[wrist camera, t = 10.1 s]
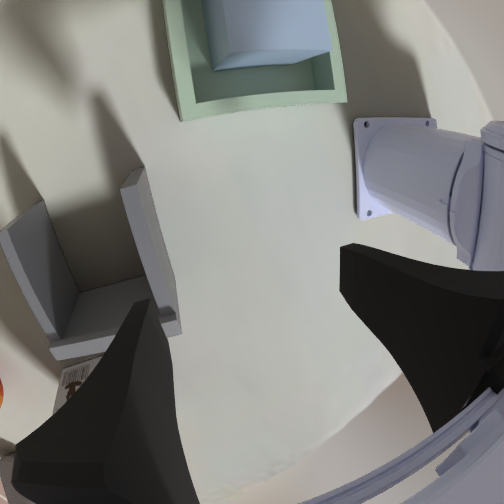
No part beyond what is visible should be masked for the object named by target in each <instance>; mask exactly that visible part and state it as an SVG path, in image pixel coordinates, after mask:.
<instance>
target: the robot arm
mask: <svg viewBox="0 0 504 504" xmlns="http://www.w3.org/2000/svg"><path fill="white" fill-rule="evenodd" d="M365 122H366V127H365V126H364V123H365ZM353 127H354V141H355V158H356V183H357V217H358V218H359V219H361V220H367V219H371V218H374V217H378V216H382V215H386V214H390V213H396V214H398V215H400V216H402V217H404V218H406V219H408V220H410V221H412V222H414V223H416V224H417V225H419V226H421V227H423V228H425V229H427V230H429V231H430V232H432V233H434V234H436V235H438V236H439V237H441V238H443V239H445V240H446V241H448V242H450V243H452V244H453V245H455V246H457V259H459V260H460V261H462V262H463V263H465V264H466V265H468V266H469V269H468V270H465V269H456V268H449V267H444V266H438V265H433V264H429V263H425V262H421V261H417V260H413V259H410V258H406V257H402V256H399V255H396V254H392V253H389V252H386V251H382V250H379V249H376V248H372V247H369V246H365V245H361V244H355V243H352V244H349V245H345V246H342V247H340V292H341V294H342V295H343V297H344V298H345V300H346V302H347V303H348V304H349V306H350V307H351V309H352V310H353V311H354V312H355V313H356V315H357V316H358V317H359V318H360V319H361V320H362V321H363V322H364V324H365V325H366V326H367V327H368V328H369V329H370V330H371V331H372V332H373V334H374V335H375V336H376V337H377V338H378V339H379V340H380V341H381V343H382V344H383V345H384V346H385V347H386V348H387V350H388V351H389V352H390V354H391V355H392V356H393V358H394V359H395V361H396V362H397V364H398V365H399V367H400V368H401V370H402V371H403V373H404V375H405V376H406V378H407V380H408V381H409V383H410V385H411V386H412V388H413V390H414V392H415V394H416V395H417V398H418V399H419V401H420V403H421V405H422V407H423V410H424V412H425V414H426V416H427V418H428V421H429V423H430V426H431V428H432V431H433V434H432V435H430V436H429V437H427V438H426V439H425V440H423V441H422V442H420V443H419V444H417V445H416V446H414V447H413V448H411V449H409V450H408V451H406V452H405V453H403V454H401V455H400V456H398V457H397V458H395V459H393V460H392V461H390V462H388V463H386V464H385V465H383V466H381V467H379V468H377V469H376V470H374V471H372V472H370V473H368V474H366V475H364V476H362V477H361V478H358V479H356V480H354V481H352V482H350V483H348V484H346V485H343V486H341V487H339V488H337V489H334V490H332V491H330V492H327V493H325V494H323V495H320V496H318V497H315V498H313V499H310V500H307V501H305V502H302V503H299V504H361V503H363V502H365V501H367V500H369V499H371V498H373V497H375V496H377V495H378V494H380V493H382V492H384V491H386V490H387V489H389V488H391V487H393V486H394V485H396V484H398V483H399V482H401V481H402V480H404V479H406V478H407V477H409V476H410V475H412V474H413V473H415V472H416V471H418V470H419V469H421V468H422V467H424V466H425V465H427V464H428V463H429V462H431V461H432V460H434V459H435V458H436V457H438V456H439V455H440V454H442V453H443V452H444V451H446V450H447V449H448V448H450V447H451V446H452V445H453V444H455V443H456V442H457V441H458V440H459V439H461V438H462V437H463V436H464V435H465V434H466V433H468V432H469V431H470V430H471V431H470V434H469V435H468V436H467V437H466V438H465V439H464V440H463V441H462V442H461V443H460V444H459V445H458V446H457V447H456V449H455V450H454V451H453V452H452V453H451V454H450V455H449V456H448V457H447V458H446V459H445V460H444V461H443V462H442V463H441V464H440V465H439V466H437V467H436V470H435V471H436V472H437V473H438V475H439V476H440V477H439V478H437V479H436V480H435V481H433V482H432V483H431V484H429V485H428V486H426V487H425V488H423V489H422V490H421V491H419V492H418V493H416V494H415V495H413V496H412V497H410V498H409V499H407V500H405V501H404V502H402V503H401V504H504V121H490V122H489V123H488V124H487V125H486V126H485V127H483V128H482V129H481V131H480V132H481V138H480V137H476V136H471V135H467V134H462V133H458V132H453V131H448V130H442V129H437V121H436V120H435V119H434V118H414V117H373V118H356V119H355V120H354V123H353ZM368 211H369V213H368V214H367V212H368ZM11 484H12V486H13V487H14V489H15V490H16V491H17V492H18V493H19V494H21V495H22V496H24V497H25V498H27V499H28V500H30V501H32V502H34V503H35V504H200V503H199V500H198V498H197V495H196V492H195V489H194V486H193V483H192V480H191V476H190V473H189V470H188V466H187V463H186V459H185V455H184V452H183V448H182V444H181V439H180V435H179V430H178V425H177V418H176V408H175V396H174V382H173V367H172V360H171V354H170V349H169V343H168V340H167V337H166V335H165V333H164V330H163V328H162V326H161V323H160V321H159V318H158V316H157V313H156V311H155V308H154V306H153V303H152V301H151V298H150V299H146V300H142V301H138V302H134V304H133V306H132V307H131V309H130V311H129V313H128V314H127V316H126V318H125V320H124V321H123V323H122V325H121V327H120V329H119V330H118V332H117V334H116V335H115V337H114V339H113V341H112V342H111V344H110V345H109V347H108V348H107V350H106V352H105V353H104V355H103V356H102V358H101V359H100V361H99V362H98V364H97V365H96V367H95V368H94V369H93V371H92V372H91V373H90V375H89V376H88V377H87V379H86V380H85V381H84V382H83V384H82V385H81V386H80V387H79V388H78V389H77V390H76V392H75V393H74V394H73V395H72V396H71V397H70V398H69V399H68V400H67V402H66V403H65V404H64V405H63V406H62V407H61V408H60V409H59V410H58V411H57V412H56V413H55V414H54V415H52V416H51V417H50V418H49V419H48V420H47V421H46V422H45V423H44V424H42V425H41V426H40V427H39V428H38V429H36V430H35V431H34V432H32V433H31V434H30V435H28V436H27V437H26V438H24V439H23V440H22V441H20V442H19V443H18V444H16V449H15V455H14V462H13V469H12V478H11Z"/></svg>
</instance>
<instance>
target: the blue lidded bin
mask: <svg viewBox="0 0 504 504" xmlns="http://www.w3.org/2000/svg"><path fill="white" fill-rule="evenodd" d="M201 4H202V10H203V17H204V24H205V30H206V37H207V43H208V50H209V56H210V63H211V69H212V72H214V71H221V70H229V69H238V68H248V67H260V66H276V65H291V64H294V63H297V62H300V61H302V60H305V59H308V58H311V57H314V56H317V55H320V54H323V53H326V52H329V51H332V44H331V38H330V33H329V27H328V22H327V17H326V12H325V7H324V2H323V0H201Z"/></svg>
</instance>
